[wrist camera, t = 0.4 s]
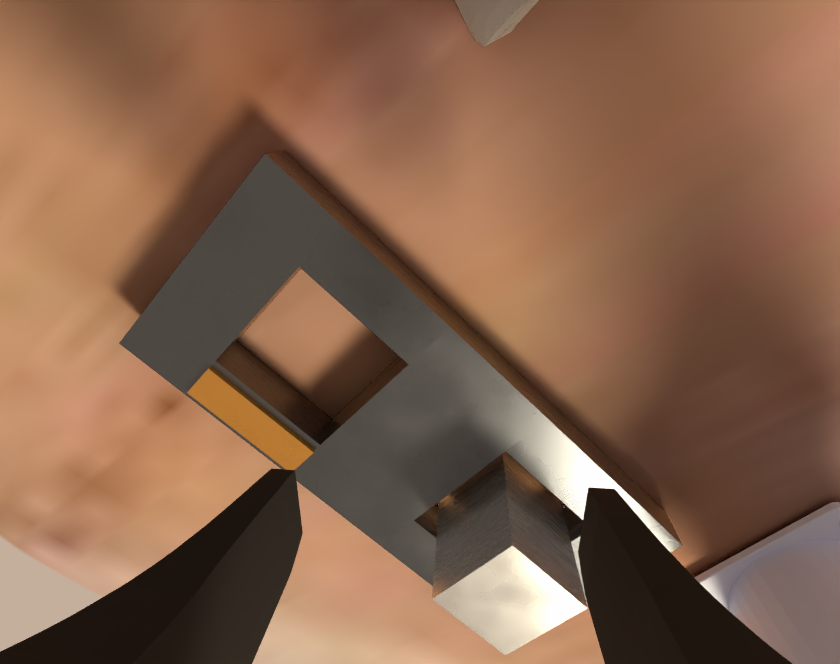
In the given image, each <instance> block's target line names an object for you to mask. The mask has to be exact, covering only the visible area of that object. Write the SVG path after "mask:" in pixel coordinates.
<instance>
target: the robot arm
mask: <svg viewBox="0 0 840 664" xmlns="http://www.w3.org/2000/svg"><path fill="white" fill-rule="evenodd" d="M301 537H302V524H301V516H300V508H299V499H298V491H297V482H296V474H295V470H284V469H271V470H270V471H268V472H267V473H266V474H265V475H264V476H263V477H261V478H260V479H259V480H258V481H257V482H256V483H255V484H253V485H252V486H251V487H250V488H249V489H248V490H247V491H246V492H244V493H243V494H242V495H241V496H240V497H239V498H238V499H236V500H235V501H234V502H233V503H232V504H231V505H230V506H228V507H227V508H226V509H225V510H224V511H223V512H221V513H220V514H219V515H218V516H217V517H215V518H214V519H213V520H212V521H211V522H210V523H208V524H207V525H206V526H205V527H203V528H202V529H201V530H200V531H198V532H197V533H196V534H194V535H193V536H192V537H191V538H189V539H188V540H187V541H186V542H184V543H183V544H182V545H180V546H179V547H178V548H177V549H175V550H174V551H173V552H171V553H170V554H169V555H167V556H166V557H164V558H163V559H162V560H160V561H159V562H157V563H156V564H155V565H153V566H152V567H150V568H149V569H147V570H146V571H144V572H143V573H141V574H140V575H138V576H137V577H135V578H134V579H132V580H131V581H129V582H128V583H126V584H124V585H123V586H121V587H120V588H118V589H116V590H115V591H113V592H111V593H109V594H108V595H106V596H104V597H103V598H101V599H99V600H98V601H96V602H94V603H93V604H91V605H89V606H87V607H86V608H84V609H82V610H81V611H79V612H77V613H76V614H74V615H72V616H70V617H68V618H66V619H65V620H63V621H61V622H59V623H57V624H55V625H53V626H51V627H49V628H47V629H45V630H43V631H42V632H40V633H38V634H36V635H34V636H32V637H30V638H28V639H26V640H24V641H22V642H20V643H17V644H15V645H13V646H11V647H9V648H7V649H5V650H3V651H1V652H0V664H252V662H253V660H254V658H255V655H256V653H257V651H258V648H259V646H260V644H261V641H262V639H263V637H264V635H265V632H266V630H267V628H268V625H269V623H270V621H271V618H272V616H273V614H274V611H275V609H276V607H277V604H278V602H279V600H280V597H281V595H282V593H283V590H284V588H285V586H286V583H287V581H288V578H289V576H290V574H291V571H292V567H293V564H294V561H295V558H296V554H297V551H298V547H299V544H300V540H301ZM578 555H579V561H580V568H581V574H582V580H583V585H584V591H585V596H586V599H587V603H588V607H589V610H590V614H591V617H592V621H593V624H594V627H595V631H596V634H597V638H598V641H599V645H600V648H601V651H602V655H603V658H604V662H605V664H840V502H832V503H829V504H827V505H825V506H823V507H822V508H820V509H818V510H816V511H814V512H813V513H811V514H809V515H807V516H805V517H803V518H802V519H800V520H798V521H796V522H794V523H792V524H791V525H789V526H787V527H785V528H783V529H782V530H780V531H778V532H776V533H774V534H772V535H771V536H769V537H767V538H765V539H763V540H761V541H760V542H758V543H756V544H754V545H752V546H750V547H749V548H747V549H745V550H743V551H741V552H740V553H738V554H736V555H734V556H732V557H730V558H729V559H727V560H725V561H723V562H721V563H719V564H718V565H716V566H714V567H712V568H710V569H709V570H707V571H705V572H703V573H701V574H699V575H698V576H696V577H693V576H692V575H691V574H690V573H689V572H688V571H687V570H686V569H685V568H684V567H683V566H682V565H681V564H680V562H679V561H678V560H677V559H676V558H675V557H674V556H673V555H672V554H671V553H670V552H669V551H668V549H667V548H666V547H665V546H664V545H663V544H662V543H661V542H660V541H659V540H658V538H657V537H656V536H655V535H654V534H653V533H652V532H651V530H650V529H649V528H648V527H647V526H646V525H645V524H644V522H643V521H642V520H641V519H640V518H639V517H638V515H637V514H636V513H635V512H634V511H633V510H632V508H631V507H630V506H629V505H628V504H627V502H626V501H625V500H624V499H623V498H622V497H621V495H620V494H619V493H618V492H617V491H616V490H615V489H609V488H592V487H588V493H587V499H586V505H585V511H584V518H583V524H582V530H581V536H580V543H579V549H578Z"/></svg>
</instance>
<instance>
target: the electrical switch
mask: <svg viewBox="0 0 840 664" xmlns="http://www.w3.org/2000/svg"><path fill="white" fill-rule="evenodd" d="M538 1H539V0H455V2H456V4H457V6H458V8H459V10H460V13H461V15H462V17H463V19H464V21H465V23H466V25H467V27H468V29H469V31H470V33H471V34H472V36H473V38H474V40H475V41H477V42H478V43H479V44H481V45H482V46H483V47H485V46H487V45H488V44H490V43H492V42H494V41H496V40H498V39H500V38H502V37H503V36H505V35H507V34H508V33H510V32H512V31H513V29H514V28H515V27H516V26H517V25H518V23H519V21H520V20H521V19H522V18H523V17H524V16H525V15H526V14H527V13H528V12H529V11H530V10H531V9H532V7H533V6H534V5H535V4H536V3H537V2H538Z"/></svg>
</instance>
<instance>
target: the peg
mask: <svg viewBox="0 0 840 664" xmlns="http://www.w3.org/2000/svg"><path fill="white" fill-rule="evenodd" d="M432 599H433V600H434V601H435V602H437V603H438V604H439V605H440V606H442V607H443V608H444V609H446V610H447V611H448V612H450V613H451V614H452V615H454V616H455V617H456V618H457V619H459V620H460V621H461V622H463V623H464V624H465V625H467V626H468V627H469V628H471V629H472V630H473V631H474V632H476V633H477V634H478V635H480V636H481V637H482V638H484V639H485V640H486V641H488V642H489V643H490V644H491V645H493V646H494V647H495V648H497V649H498V650H499V651H501V652H502V653H503V654H504V655H507V654H508V653H510V652H512V651H514V650H515V649H517V648H519V647H521V646H522V645H524V644H526V643H528V642H529V641H531V640H533V639H535V638H536V637H538V636H540V635H542V634H543V633H545V632H547V631H549V630H550V629H552V628H554V627H556V626H557V625H559V624H561V623H563V622H564V621H566V620H568V619H570V618H571V617H573V616H575V615H577V614H578V613H580V612H582V611H584V610H585V609H587V604H586V600H585V596H584V592H583V588H582V584H581V580H580V576H579V572H578V568H577V564H576V560H575V556H574V552H573V548H572V544H571V540H570V536H569V532H568V528H567V524H566V520H565V516H564V512H563V508H562V504H561V500H560V499H559V498H558V497H556V496H555V495H554V494H553V493H552V492H551V491H550V490H549V489H547V488H546V487H545V486H544V485H543V484H542V483H541V482H540V481H539V480H537V479H536V478H535V477H534V476H533V475H532V474H531V473H530V472H528V471H527V470H526V469H525V468H524V467H523V466H522V465H521V464H519V463H518V462H517V461H516V460H515V459H514V458H513V457H512V456H511V455H509V454H508V453H507V452H506V451H505V452H504V453H503V454H501V455H500V456H499V457H497V458H496V459H495V460H493V461H492V462H491V463H490V464H488V465H487V466H486V467H484V468H483V469H482V470H480V471H479V472H478V473H476V474H475V475H474V476H472V477H471V478H470V479H468V480H467V481H466V482H464V483H463V484H462V485H460V486H459V487H458V488H456V489H455V490H454V491H452V492H451V493H450V494H448V495H447V496H446V497H444V498H443V499H442V500H440V501H439V508H438V523H437V537H436V551H435V566H434V580H433V594H432Z"/></svg>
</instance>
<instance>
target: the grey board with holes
mask: <svg viewBox="0 0 840 664" xmlns="http://www.w3.org/2000/svg"><path fill="white" fill-rule="evenodd" d="M300 269H302V270H304V271H305V272H306V273H307V274H308V275H309V276H310V277H311V278H312V279H314V280H315V281H316V282H317V283H318V284H319V285H320V286H321V287H323V288H324V289H325V290H326V291H327V292H328V293H329V294H330V295H331V296H333V297H334V298H335V299H336V300H337V301H338V302H339V303H340V304H342V305H343V306H344V307H345V308H346V309H347V310H348V311H349V312H351V313H352V314H353V315H354V316H355V317H356V318H357V319H358V320H359V321H361V322H362V323H363V324H364V325H365V326H366V327H367V328H368V329H370V330H371V331H372V332H373V333H374V334H375V335H376V336H377V337H378V338H380V339H381V340H382V341H383V342H384V343H385V344H386V345H387V346H389V347H390V348H391V349H392V350H393V351H394V352H395V353H396V354H398V355H399V356H400V357H398V358H397V359H396V360H395V361H394V362H393V363H392V364H391V365H390V366H389V367H388V368H387V369H386V370H384V371H383V372H382V373H381V374H380V375H379V376H378V377H377V378H376V379H375V380H374V381H373V382H371V383H370V384H369V385H368V386H367V387H366V388H365V389H364V390H363V391H362V392H361V393H360V394H359V395H357V396H356V397H355V398H354V399H353V400H352V401H351V402H350V403H349V404H348V405H347V406H346V407H344V408H343V409H342V410H341V411H340V412H339V413H338V414H337V415H336V416H335V417H334V418H333V419H331V418H330V417H328V416H327V415H326V414H325V413H324V412H322V411H321V410H320V409H319V408H318V407H316V406H315V405H314V404H313V403H311V402H310V401H309V400H308V399H307V398H305V397H304V396H303V395H302V394H301V393H299V392H298V391H297V390H296V389H294V388H293V387H292V386H291V385H290V384H288V383H287V382H286V381H285V380H284V379H282V378H281V377H280V376H279V375H277V374H276V373H275V372H274V371H273V370H271V369H270V368H269V367H268V366H267V365H265V364H264V363H263V362H262V361H260V360H259V359H258V358H257V357H256V356H254V355H253V354H252V353H251V352H250V351H248V350H247V349H246V348H245V347H243V346H242V345H241V344H240V343H239V342H237V340H238V339H239V337H240V336H241V335H242V334H243V333H244V332H245V331H246V330H247V328H248V327H249V326H250V325H251V324H252V323H253V322H254V321H255V319H256V318H257V317H258V316H259V315H260V314H261V313H262V312H263V310H264V309H265V308H266V307H267V306H268V305H269V304H270V303H271V301H272V300H273V299H274V298H275V297H276V296H277V295H278V294H279V292H280V291H281V290H282V289H283V288H284V287H285V286H286V285H287V283H288V282H289V281H290V280H291V279H292V278H293V277H294V276H295V274H296V273H297V272H298V271H299V270H300ZM119 344H121V345H122V346H123V347H125V348H126V349H127V350H128V351H130V352H131V353H132V354H134V355H135V356H136V357H137V358H139V359H140V360H141V361H143V362H144V363H145V364H146V365H148V366H149V367H150V368H152V369H153V370H154V371H156V372H157V373H158V374H159V375H161V376H162V377H163V378H165V379H166V380H167V381H168V382H170V383H171V384H172V385H174V386H175V387H176V388H177V389H179V390H180V391H181V392H183V393H184V394H185V395H187V396H188V397H189V398H190V399H192V400H193V401H194V402H196V403H197V404H198V405H199V406H201V407H202V408H203V409H205V410H206V411H207V412H209V413H210V414H211V415H212V416H214V417H215V418H216V419H218V420H219V421H220V422H221V423H223V424H224V425H225V426H227V427H228V428H229V429H230V430H232V431H233V432H234V433H236V434H237V435H238V436H240V437H241V438H242V439H243V440H245V441H246V442H247V443H249V444H250V445H251V446H252V447H254V448H255V449H256V450H258V451H259V452H260V453H261V454H263V455H264V456H265V457H267V458H268V459H269V460H271V461H272V462H273V463H274V464H276V465H277V466H278V467H280V468H281V469H284V470H295V474H296V481H298V482H299V483H300V484H302V485H303V486H304V487H305V488H307V489H308V490H309V491H311V492H312V493H313V494H314V495H316V496H317V497H318V498H320V499H321V500H322V501H324V502H325V503H326V504H327V505H329V506H330V507H331V508H333V509H334V510H335V511H336V512H338V513H339V514H340V515H342V516H343V517H344V518H346V519H347V520H348V521H349V522H351V523H352V524H353V525H355V526H356V527H357V528H358V529H360V530H361V531H362V532H364V533H365V534H366V535H367V536H369V537H370V538H371V539H373V540H374V541H375V542H377V543H378V544H379V545H380V546H382V547H383V548H384V549H386V550H387V551H388V552H389V553H391V554H392V555H393V556H395V557H396V558H397V559H398V560H400V561H401V562H402V563H404V564H405V565H406V566H408V567H409V568H410V569H411V570H413V571H414V572H415V573H417V574H418V575H419V576H420V577H422V578H423V579H424V580H426V581H427V582H428V583H430V584H431V585H432V586H433V580H434V566H435V551H436V537H437V523H438V508H439V507H438V506H436V505H435V504H436V503H438V502H439V501H440V500H442V499H443V498H444V497H446V496H447V495H448V494H450V493H451V492H452V491H454V490H455V489H456V488H458V487H459V486H460V485H462V484H463V483H464V482H466V481H467V480H468V479H470V478H471V477H472V476H474V475H475V474H476V473H478V472H479V471H480V470H482V469H483V468H484V467H486V466H487V465H488V464H490V463H491V462H492V461H493V460H495V459H496V458H497V457H499V456H500V455H501V454H503V453H504V452H505V451H506V452H507V453H508V454H509V455H511V456H512V457H513V458H514V459H515V460H516V461H517V462H518V463H519V464H521V465H522V466H523V467H524V468H525V469H526V470H527V471H528V472H530V473H531V474H532V475H533V476H534V477H535V478H536V479H537V480H539V481H540V482H541V483H542V484H543V485H544V486H545V487H546V488H547V489H549V490H550V491H551V492H552V493H553V494H554V495H555V496H556V497H558V498H559V499H560V500H561V501H562V502H563V503H564V504H565V505H566V506H568V507H566V508H565V509H563V512H564V516H565V520H566V524H567V528H568V532H569V536H570V540H571V544H572V548H573V552H574V556H575V560H576V564H577V568H578V572H579V576H580V580H581V584H582V588H583V592H584V596H585V591H584V585H583V580H582V574H581V568H580V561H579V555H578V549H579V543H580V536H581V530H582V524H583V518H584V511H585V505H586V499H587V493H588V487H592V488H609V489H615V490H616V491H617V492H618V493H619V494H620V495H621V497H622V498H623V499H624V500H625V501H626V502H627V504H628V505H629V506H630V507H631V508H632V510H633V511H634V512H635V513H636V514H637V515H638V517H639V518H640V519H641V520H642V521H643V522H644V524H645V525H646V526H647V527H648V528H649V529H650V530H651V532H652V533H653V534H654V535H655V536H656V537H657V538H658V540H659V541H660V542H661V543H662V544H663V545H664V546H665V547H666V548H667V549H668V551H669V552H672V551H674V550H675V549H677V548H679V547H681V546H682V543H681V541H680V539H679V537H678V535H677V533H676V531H675V530H674V528H673V526H672V524H671V522H670V520H669V518H668V516H667V514H666V512H665V511H664V510H663V509H662V508H661V507H660V506H659V505H658V504H657V503H655V502H654V501H653V500H652V499H651V498H650V497H649V496H648V495H647V494H646V493H645V492H644V491H643V490H642V489H641V488H640V487H639V486H638V485H637V484H635V483H634V482H633V481H632V480H631V479H630V478H629V477H628V476H627V475H626V474H625V473H624V472H623V471H622V470H621V469H620V468H619V467H618V466H617V465H616V464H614V463H613V462H612V461H611V460H610V459H609V458H608V457H607V456H606V455H605V454H604V453H603V452H602V451H601V450H600V449H599V448H598V447H597V446H596V445H594V444H593V443H592V442H591V441H590V440H589V439H588V438H587V437H586V436H585V435H584V434H583V433H582V432H581V431H580V430H579V429H578V428H577V427H576V426H574V425H573V424H572V423H571V422H570V421H569V420H568V419H567V418H566V417H565V416H564V415H563V414H562V413H561V412H560V411H559V410H558V409H557V408H556V407H555V406H553V405H552V404H551V403H550V402H549V401H548V400H547V399H546V398H545V397H544V396H543V395H542V394H541V393H540V392H539V391H538V390H537V389H536V388H535V387H533V386H532V385H531V384H530V383H529V382H528V381H527V380H526V379H525V378H524V377H523V376H522V375H521V374H520V373H519V372H518V371H517V370H516V369H515V368H513V367H512V366H511V365H510V364H509V363H508V362H507V361H506V360H505V359H504V358H503V357H502V356H501V355H500V354H499V353H498V352H497V351H496V350H495V349H494V348H492V347H491V346H490V345H489V344H488V343H487V342H486V341H485V340H484V339H483V338H482V337H481V336H480V335H479V334H478V333H477V332H476V331H475V330H474V329H472V328H471V327H470V326H469V325H468V324H467V323H466V322H465V321H464V320H463V319H462V318H461V317H460V316H459V315H458V314H457V313H456V312H455V311H454V310H452V309H451V308H450V307H449V306H448V305H447V304H446V303H445V302H444V301H443V300H442V299H441V298H440V297H439V296H438V295H437V294H436V293H435V292H434V291H432V290H431V289H430V288H429V287H428V286H427V285H426V284H425V283H424V282H423V281H422V280H421V279H420V278H419V277H418V276H417V275H416V274H415V273H414V272H413V271H411V270H410V269H409V268H408V267H407V266H406V265H405V264H404V263H403V262H402V261H401V260H400V259H399V258H398V257H397V256H396V255H395V254H394V253H393V252H391V251H390V250H389V249H388V248H387V247H386V246H385V245H384V244H383V243H382V242H381V241H380V240H379V239H378V238H377V237H376V236H375V235H374V234H373V233H371V232H370V231H369V230H368V229H367V228H366V227H365V226H364V225H363V224H362V223H361V222H360V221H359V220H358V219H357V218H356V217H355V216H354V215H353V214H352V213H350V212H349V211H348V210H347V209H346V208H345V207H344V206H343V205H342V204H341V203H340V202H339V201H338V200H337V199H336V198H335V197H334V196H333V195H332V194H330V193H329V192H328V191H327V190H326V189H325V188H324V187H323V186H322V185H321V184H320V183H319V182H318V181H317V180H316V179H315V178H314V177H313V176H312V175H310V174H309V173H308V172H307V171H306V170H305V169H304V168H303V167H302V166H301V165H300V164H299V163H298V162H297V161H296V160H295V159H294V158H293V157H292V156H291V155H289V154H288V153H287V152H286V151H285V150H284V151H277V152H271V153H265V154H264V156H263V157H262V158H261V160H260V161H259V162H258V163H257V165H256V166H255V167H254V169H253V170H252V171H251V173H250V174H249V175H248V176H247V178H246V179H245V180H244V182H243V183H242V184H241V186H240V187H239V188H238V189H237V191H236V192H235V193H234V195H233V196H232V197H231V199H230V200H229V201H228V202H227V204H226V205H225V206H224V208H223V209H222V210H221V212H220V213H219V214H218V215H217V217H216V218H215V219H214V221H213V222H212V223H211V225H210V226H209V227H208V228H207V230H206V231H205V232H204V234H203V235H202V236H201V238H200V239H199V240H198V241H197V243H196V244H195V245H194V247H193V248H192V249H191V251H190V252H189V253H188V254H187V256H186V257H185V258H184V260H183V261H182V262H181V264H180V265H179V266H178V267H177V269H176V270H175V271H174V273H173V274H172V275H171V277H170V278H169V279H168V280H167V282H166V283H165V284H164V286H163V287H162V288H161V290H160V291H159V292H158V293H157V295H156V296H155V297H154V299H153V300H152V301H151V303H150V304H149V305H148V306H147V308H146V309H145V310H144V312H143V313H142V314H141V316H140V317H139V318H138V319H137V321H136V322H135V323H134V325H133V326H132V327H131V329H130V330H129V331H128V332H127V334H126V335H125V336H124V338H123V339H122V340H121V342H120V343H119ZM585 600H586V601H587V599H586V596H585Z"/></svg>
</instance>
